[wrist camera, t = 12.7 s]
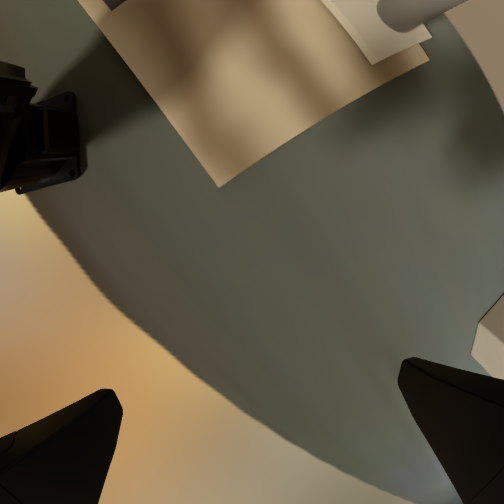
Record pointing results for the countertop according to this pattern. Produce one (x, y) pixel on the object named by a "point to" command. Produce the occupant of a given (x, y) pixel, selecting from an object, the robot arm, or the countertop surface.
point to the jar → (491, 341)
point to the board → (242, 70)
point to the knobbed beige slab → (387, 23)
